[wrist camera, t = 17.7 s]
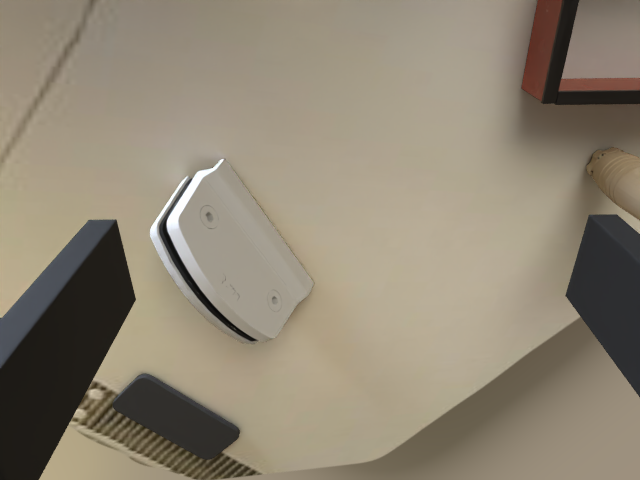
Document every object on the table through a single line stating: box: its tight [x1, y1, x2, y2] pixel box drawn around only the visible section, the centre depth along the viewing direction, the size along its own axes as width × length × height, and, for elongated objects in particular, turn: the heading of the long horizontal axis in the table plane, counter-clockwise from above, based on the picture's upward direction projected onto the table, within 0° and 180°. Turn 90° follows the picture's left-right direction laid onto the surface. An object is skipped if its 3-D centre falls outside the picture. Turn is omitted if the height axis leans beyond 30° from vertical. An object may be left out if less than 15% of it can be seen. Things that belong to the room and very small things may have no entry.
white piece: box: [150, 159, 314, 344], centre depth 46 cm, size 17×5×10 cm, turn 30°
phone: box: [113, 374, 240, 460], centre depth 61 cm, size 7×1×15 cm
